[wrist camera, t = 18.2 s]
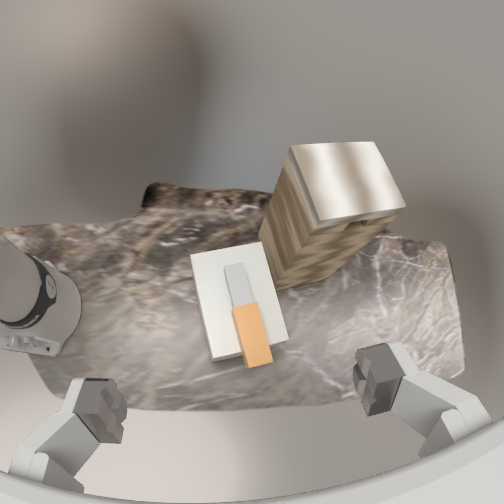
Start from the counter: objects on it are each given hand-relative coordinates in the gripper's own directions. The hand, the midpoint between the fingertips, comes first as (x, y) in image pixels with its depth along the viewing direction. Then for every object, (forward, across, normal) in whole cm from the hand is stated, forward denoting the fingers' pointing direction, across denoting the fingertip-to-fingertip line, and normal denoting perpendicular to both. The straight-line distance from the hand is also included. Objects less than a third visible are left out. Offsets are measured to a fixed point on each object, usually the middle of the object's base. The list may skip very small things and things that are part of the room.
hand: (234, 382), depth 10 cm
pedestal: (+38, -3, -27) cm, 47 cm away
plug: (+26, 0, -17) cm, 31 cm away
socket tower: (+46, +10, -22) cm, 52 cm away
